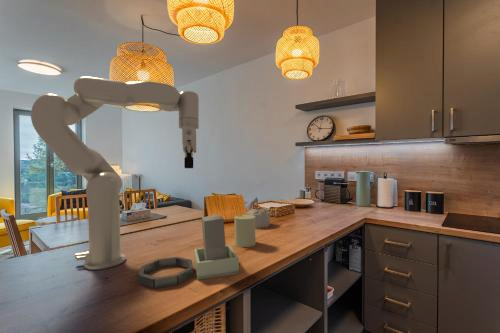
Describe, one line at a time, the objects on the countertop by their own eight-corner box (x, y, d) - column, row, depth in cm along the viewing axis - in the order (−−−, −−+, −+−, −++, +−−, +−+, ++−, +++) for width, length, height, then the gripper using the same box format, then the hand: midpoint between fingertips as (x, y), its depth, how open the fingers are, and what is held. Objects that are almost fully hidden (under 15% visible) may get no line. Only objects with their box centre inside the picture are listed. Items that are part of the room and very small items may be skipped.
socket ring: (136, 291, 66) (135, 282, 66) (143, 268, 81) (143, 260, 81) (194, 282, 71) (194, 274, 71) (191, 262, 86) (190, 255, 86)
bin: (197, 279, 73) (197, 263, 73) (194, 263, 85) (194, 249, 85) (238, 273, 76) (238, 257, 76) (230, 258, 88) (229, 245, 88)
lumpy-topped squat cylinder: (244, 224, 138) (244, 209, 138) (263, 221, 144) (263, 207, 144) (253, 229, 129) (253, 212, 129) (274, 225, 135) (273, 210, 135)
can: (243, 239, 112) (243, 212, 112) (260, 243, 106) (259, 215, 106) (229, 244, 105) (229, 216, 104) (246, 248, 99) (245, 219, 99)
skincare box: (227, 268, 78) (226, 218, 77) (204, 272, 76) (203, 220, 75) (222, 259, 86) (222, 213, 86) (202, 261, 84) (201, 215, 84)
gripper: (199, 120, 89) (199, 168, 89) (197, 127, 105) (197, 167, 106) (178, 120, 87) (178, 168, 87) (179, 127, 104) (179, 167, 104)
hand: (188, 168), depth 96 cm, fingers open, 9 cm apart
